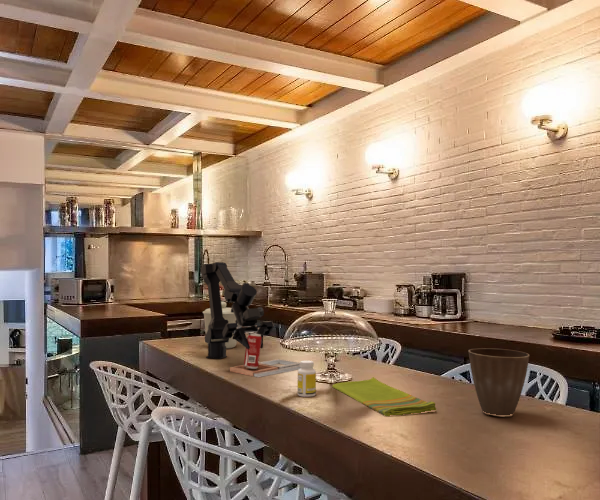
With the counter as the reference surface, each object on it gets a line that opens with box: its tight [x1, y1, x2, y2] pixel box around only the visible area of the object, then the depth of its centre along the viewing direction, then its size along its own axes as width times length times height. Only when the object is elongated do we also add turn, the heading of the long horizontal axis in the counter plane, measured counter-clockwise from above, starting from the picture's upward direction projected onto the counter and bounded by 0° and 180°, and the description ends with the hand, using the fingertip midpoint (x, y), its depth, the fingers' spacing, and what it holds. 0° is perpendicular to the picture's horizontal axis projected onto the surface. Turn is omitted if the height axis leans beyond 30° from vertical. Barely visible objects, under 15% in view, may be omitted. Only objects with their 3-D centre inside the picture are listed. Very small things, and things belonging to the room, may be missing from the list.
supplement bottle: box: [297, 360, 317, 398], centre depth 162 cm, size 5×5×10 cm
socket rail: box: [229, 358, 301, 378], centre depth 201 cm, size 25×14×2 cm, turn 138°
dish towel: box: [331, 376, 437, 417], centre depth 159 cm, size 15×36×3 cm, turn 19°
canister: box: [202, 301, 238, 350], centre depth 254 cm, size 18×18×21 cm
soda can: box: [243, 332, 262, 370], centre depth 197 cm, size 5×5×12 cm
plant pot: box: [468, 347, 530, 415], centre depth 144 cm, size 15×15×16 cm
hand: (255, 348), depth 196 cm, fingers closed on soda can, 5 cm apart
